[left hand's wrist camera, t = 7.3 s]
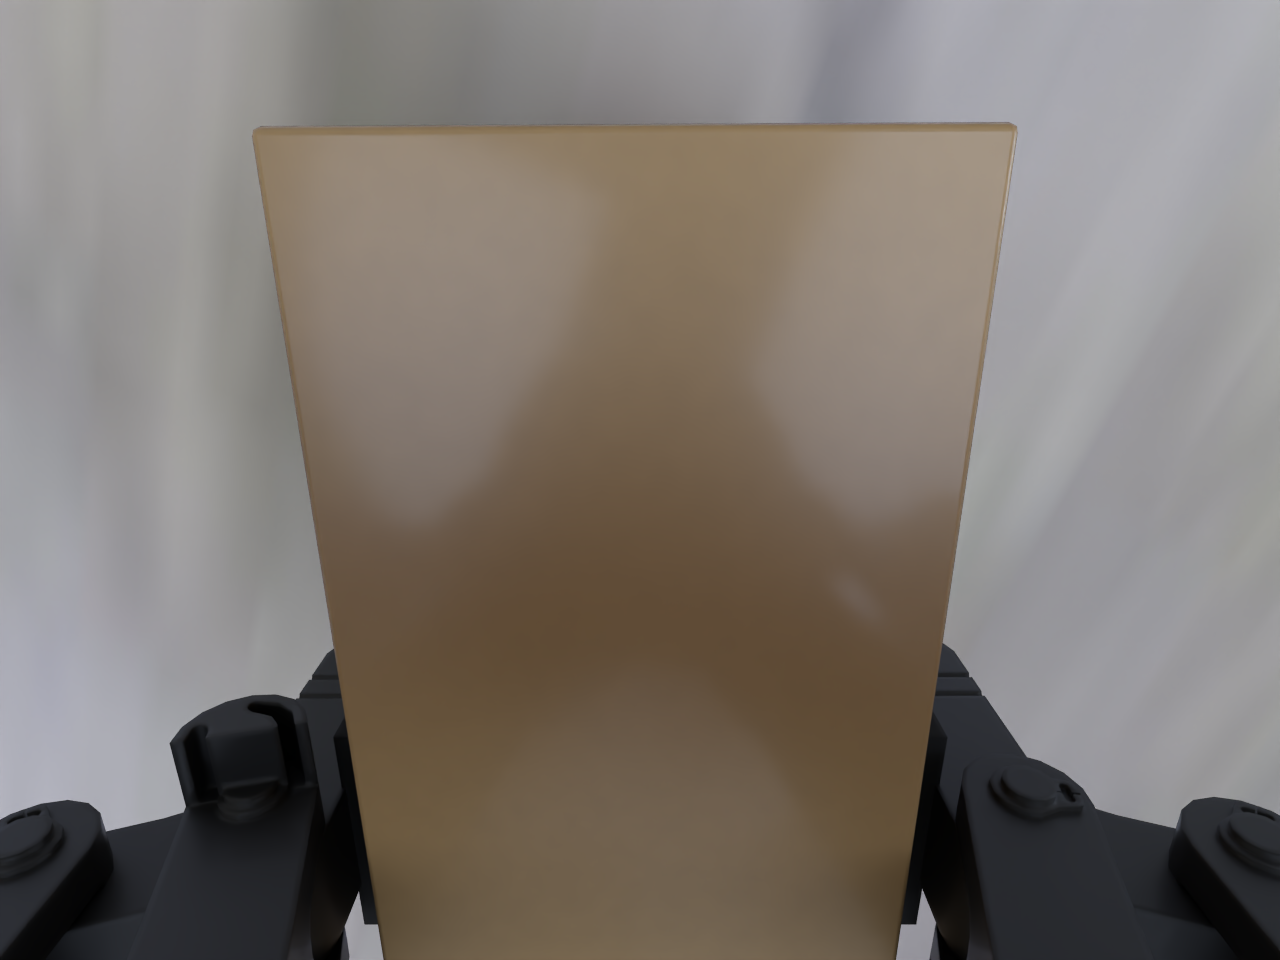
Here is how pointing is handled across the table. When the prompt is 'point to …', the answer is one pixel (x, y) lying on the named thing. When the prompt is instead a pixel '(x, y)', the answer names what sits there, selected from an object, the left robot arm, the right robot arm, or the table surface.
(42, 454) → the table surface
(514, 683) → the bar
